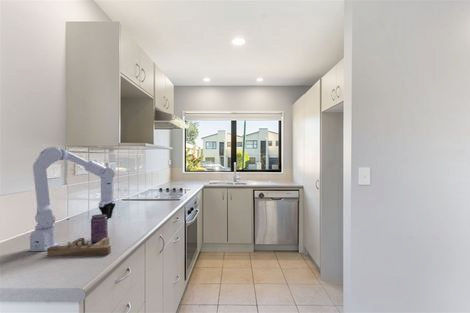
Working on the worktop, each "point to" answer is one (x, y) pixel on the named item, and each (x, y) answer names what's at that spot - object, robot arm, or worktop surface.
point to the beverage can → (99, 227)
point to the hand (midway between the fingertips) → (107, 218)
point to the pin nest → (81, 248)
